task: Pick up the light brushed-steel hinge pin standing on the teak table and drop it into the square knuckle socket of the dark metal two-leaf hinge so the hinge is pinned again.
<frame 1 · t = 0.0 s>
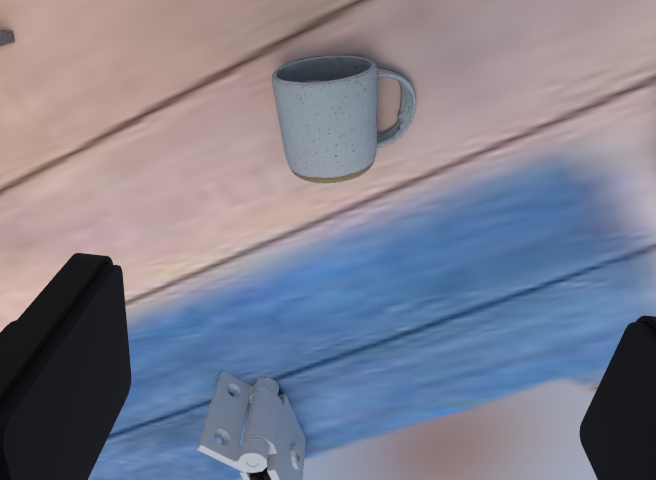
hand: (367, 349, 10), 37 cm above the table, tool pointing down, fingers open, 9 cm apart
hinge: (265, 405, 62), on the table
ceramic mug: (345, 100, 45), on the table
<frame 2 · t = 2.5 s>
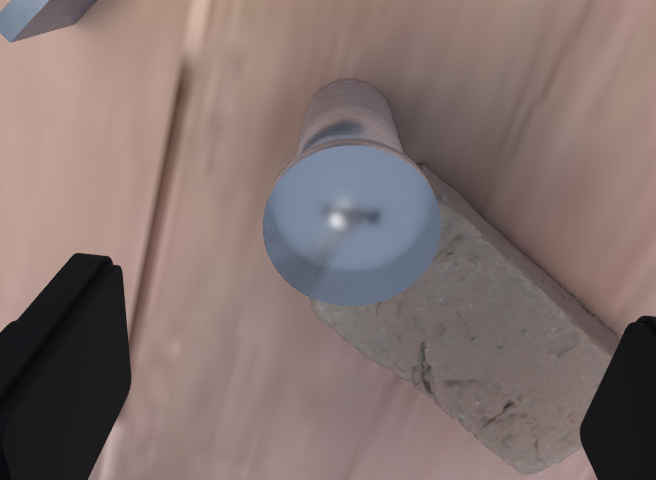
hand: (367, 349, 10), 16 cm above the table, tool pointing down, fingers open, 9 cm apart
hinge pin: (348, 124, 25), on the table
brick: (466, 301, 30), on the table
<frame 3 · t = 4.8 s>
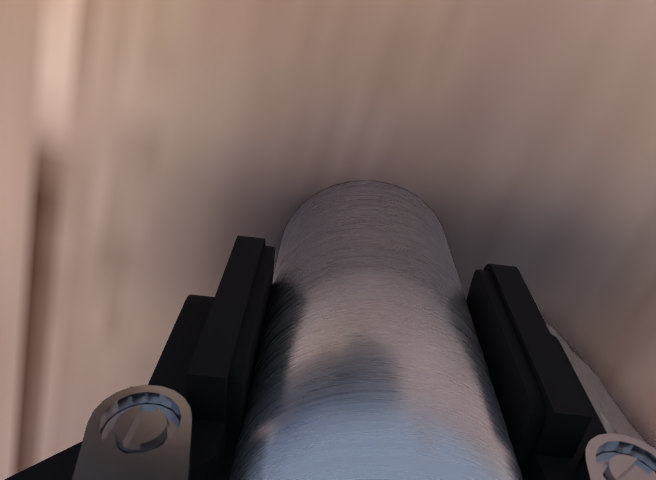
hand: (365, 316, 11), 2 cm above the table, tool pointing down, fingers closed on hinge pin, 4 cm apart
hinge pin: (363, 257, 13), on the table, touching gripper
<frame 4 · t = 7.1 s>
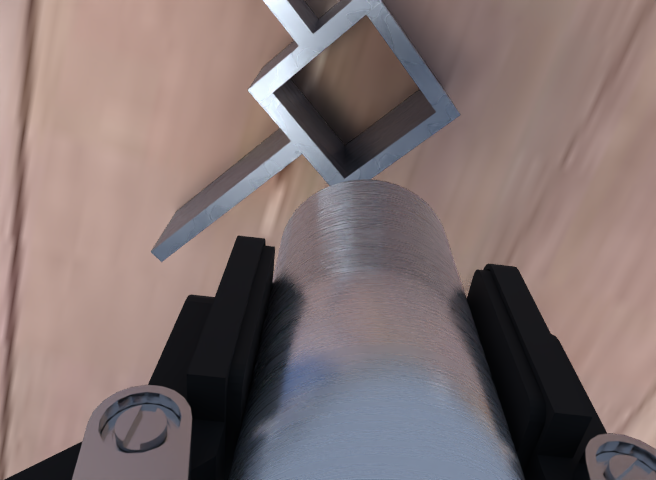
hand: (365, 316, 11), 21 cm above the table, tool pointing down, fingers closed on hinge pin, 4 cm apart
hinge pin: (363, 256, 13), point 19 cm above the table, touching gripper
hinge knuckle: (353, 78, 30), on the table
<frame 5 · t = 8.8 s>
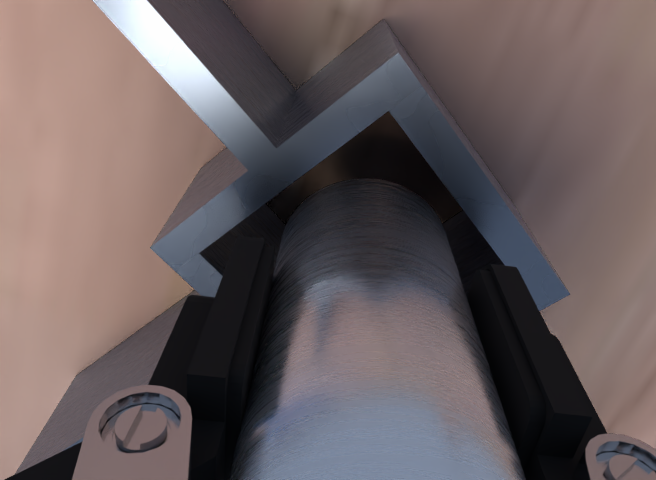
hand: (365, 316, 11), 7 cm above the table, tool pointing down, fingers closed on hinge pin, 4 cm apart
hinge pin: (363, 256, 13), point 5 cm above the table, touching gripper
hinge knuckle: (358, 186, 17), on the table
when the fingers open (6 cm above the table, at t = 9.7 s): hinge pin drops 3 cm, resting in hinge knuckle.
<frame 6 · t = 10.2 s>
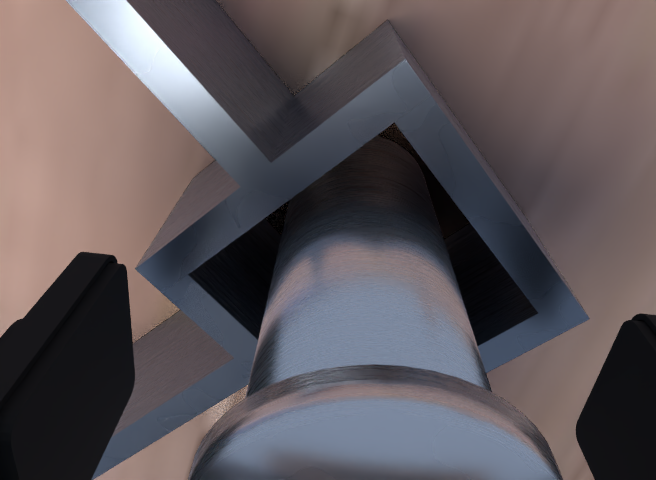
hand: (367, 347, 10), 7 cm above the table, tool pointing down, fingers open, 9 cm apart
hinge pin: (359, 198, 16), resting in hinge knuckle
hinge knuckle: (360, 197, 16), on the table
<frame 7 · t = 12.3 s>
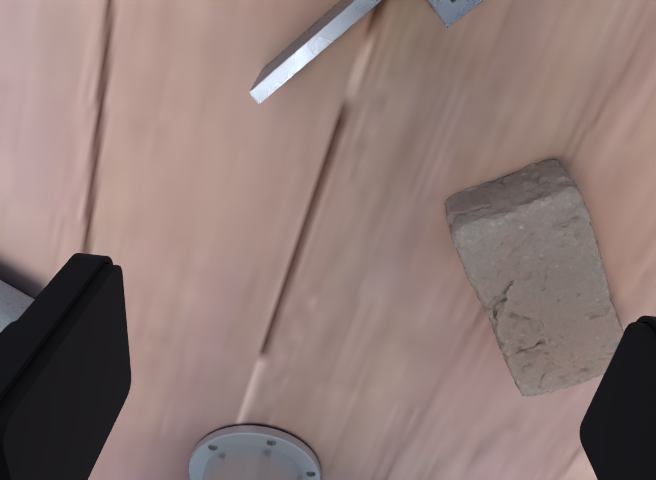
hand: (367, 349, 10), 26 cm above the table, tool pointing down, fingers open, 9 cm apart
brick: (528, 266, 41), on the table
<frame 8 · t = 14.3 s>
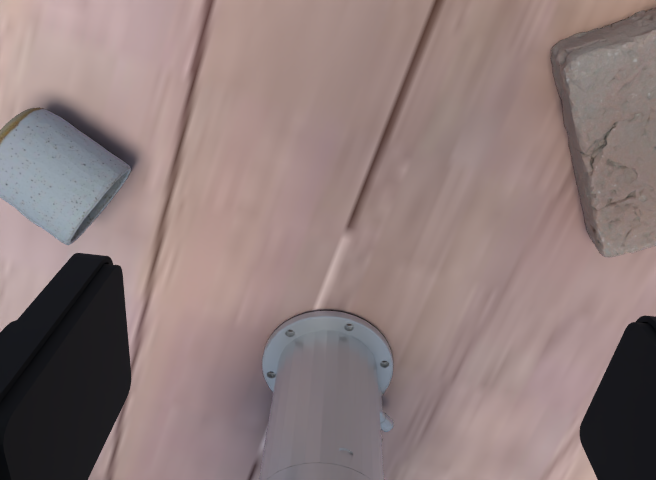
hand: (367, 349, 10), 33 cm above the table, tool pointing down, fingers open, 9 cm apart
brick: (617, 129, 42), on the table
ceramic mug: (74, 170, 45), on the table
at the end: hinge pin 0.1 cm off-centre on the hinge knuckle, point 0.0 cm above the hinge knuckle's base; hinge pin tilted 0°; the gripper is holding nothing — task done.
